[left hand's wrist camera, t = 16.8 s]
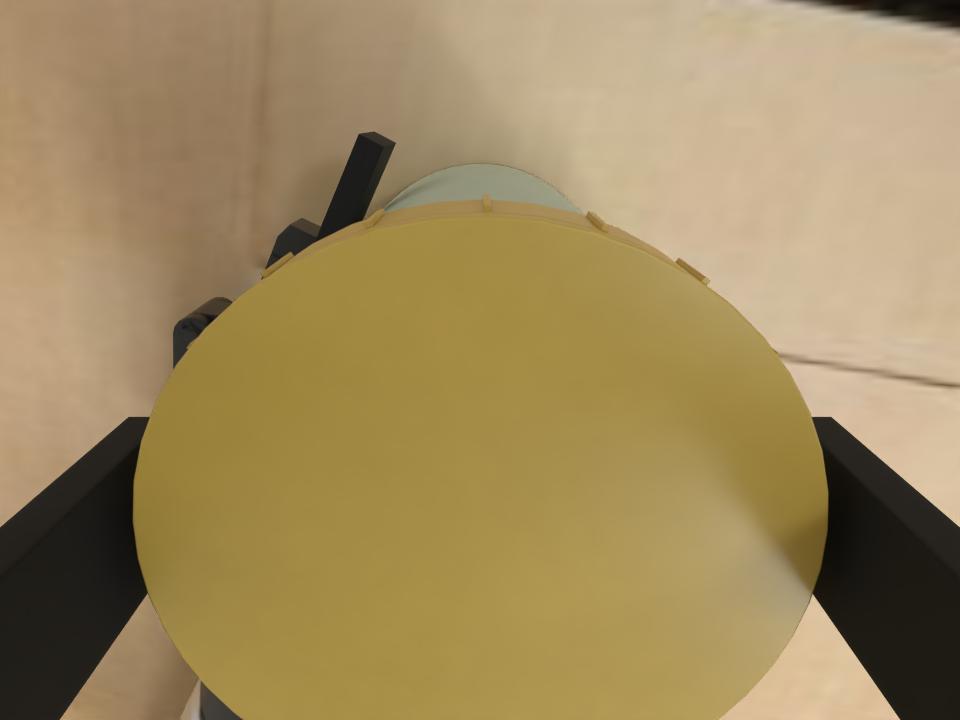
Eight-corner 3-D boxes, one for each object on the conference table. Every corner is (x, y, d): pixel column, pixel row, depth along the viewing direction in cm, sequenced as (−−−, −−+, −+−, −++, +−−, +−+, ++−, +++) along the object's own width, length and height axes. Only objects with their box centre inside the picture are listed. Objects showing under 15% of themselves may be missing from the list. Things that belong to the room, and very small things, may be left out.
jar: (329, 192, 25) (78, 319, 10) (583, 138, 25) (768, 181, 9) (392, 418, 29) (286, 784, 13) (616, 378, 28) (789, 712, 12)
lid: (386, 780, 15) (373, 869, 13) (47, 394, 11) (-31, 445, 10) (857, 591, 13) (916, 666, 11) (626, 53, 9) (660, 39, 8)
